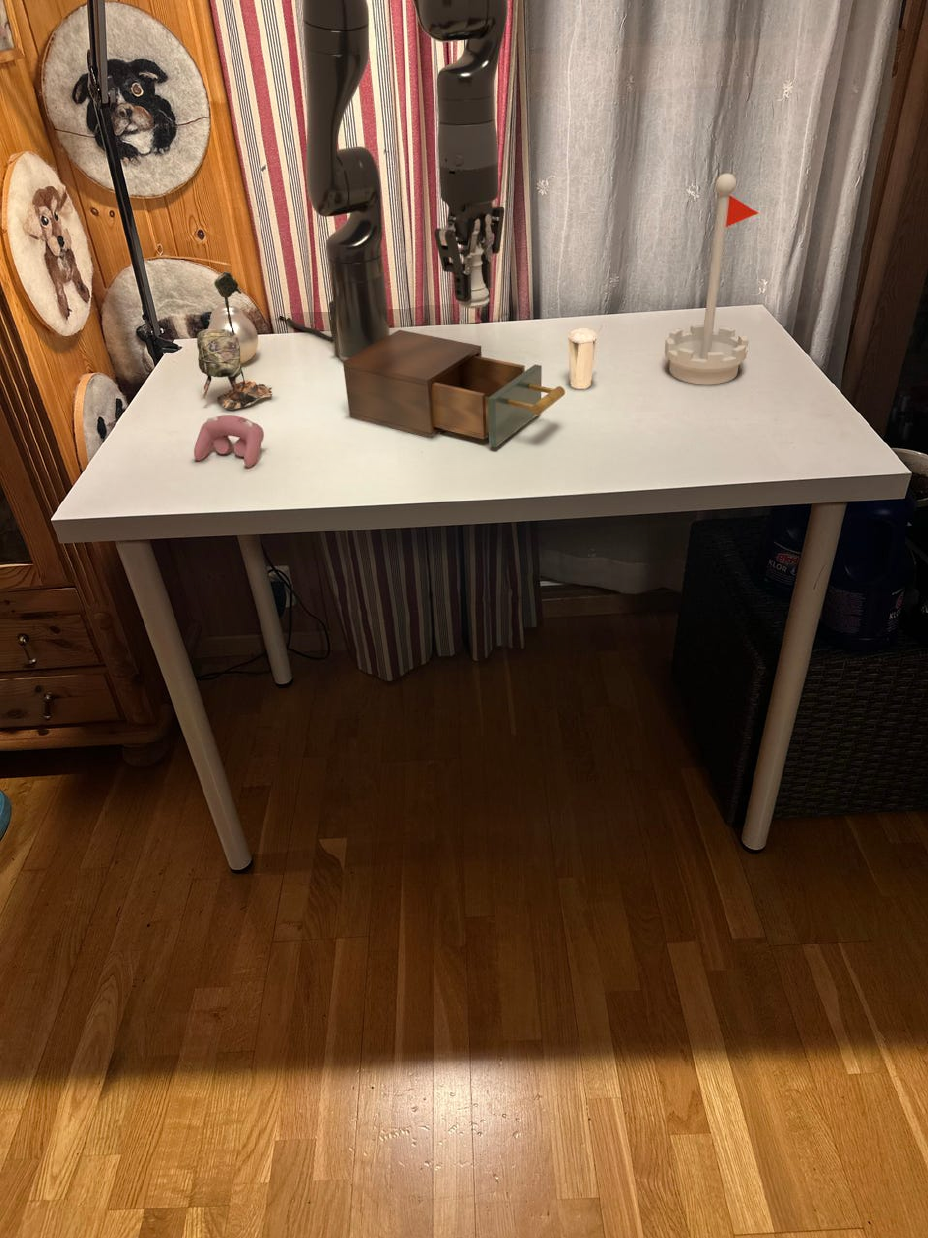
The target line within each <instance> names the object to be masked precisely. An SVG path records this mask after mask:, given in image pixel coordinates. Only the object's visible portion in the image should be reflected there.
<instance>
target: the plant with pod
mask: <svg viewBox="0 0 928 1238" xmlns="http://www.w3.org/2000/svg"><path fill="white" fill-rule="evenodd" d="M213 284H214V286H215V288H216V290H217V292H218V293H219V295H220V296H221V297H222V298H224V304H226V308H227V312H228V319H229V323H230V327H231V331H230V330H229V329H227V330H226V329H221V330H218V329H208V328H205V329H203V330H201V331H199V332H198V333H197V334H196V346H197V349H198V367H199V370H200V371H201V373H202V374H205V375H206V377H207V378H206V380H205V384H204V385H203V392H202V396H201V399H205V397H206V395H207V393H208V390H209V389H210V385H211V383H212V379H213V378H227V379H228V381H229V383H230V386H231V389H229V390H228V391H226V392H224V393H221V394H219V395H218V396H217V402H218V403H219V404H220V406H221V407H222V408H223V409H225V410H227V411H228V410H230V411H232V410H237V409H242V408H244V407H247V406H251V405H253V404H255V403H256V402H257V401H259V400H263V398H271V397H273V391H271V390H272V387H267V386H266V384H263V383H259V384H257V382H256V381H251V380H249V379H247V380H245V376H244V373H243V368H242V364H241V361H240V359H241V356H240V342H239V341H238V337H237V336H236V334H235V333H234V329H233V326H232V322H231V316H230V311H229V310H230V309H229V306H230V303H229V298H230V297H232V296H233V294H235V293H237V294H239V295H242V293H243V292H242V291H241V290H240V289H239V288H238V287H239V283H238V282H237V279H235V277H234V276H233V274H231V272H229V270H228V271H227V270H224V271H223V272H222V273H220V274H219V275H218V276H217V277H216V279H215V280H214V281H213ZM194 330H195V331H197V330H198V328H195V329H194ZM240 375H241V377H242V381H240V382H237V381H236V380H237V377H239V376H240ZM212 377H213V378H212Z"/></svg>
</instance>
